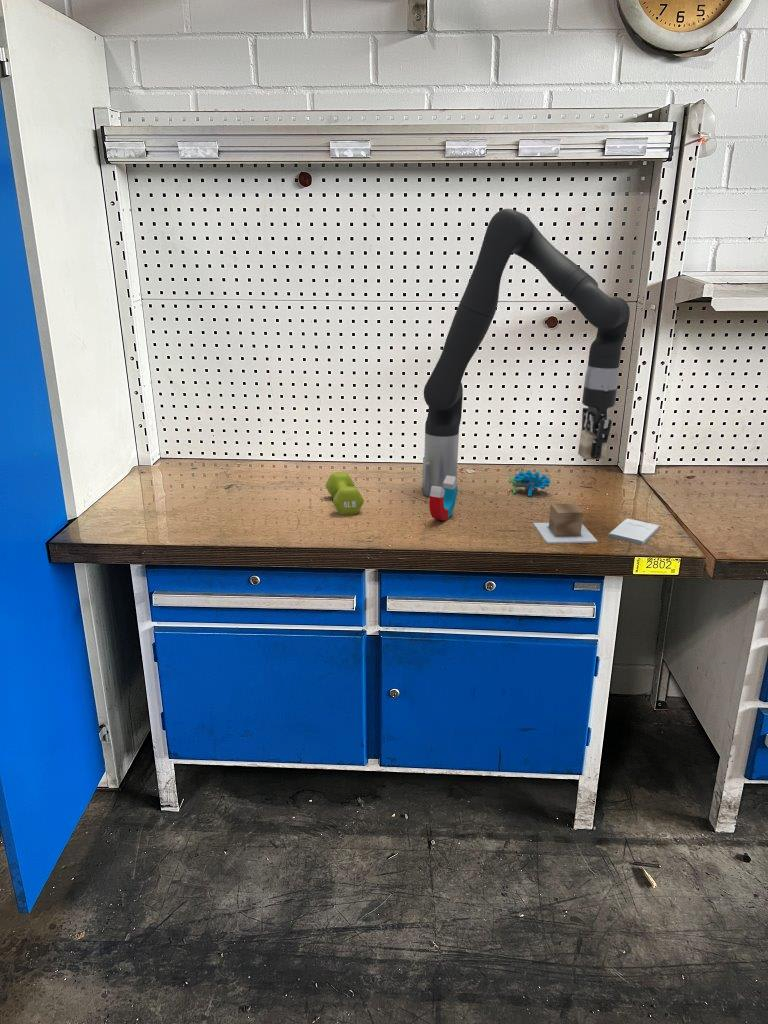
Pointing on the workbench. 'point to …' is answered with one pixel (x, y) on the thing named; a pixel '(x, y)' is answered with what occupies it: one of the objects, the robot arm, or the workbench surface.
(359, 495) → the dumbbell
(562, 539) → the white square plate
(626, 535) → the external hard drive
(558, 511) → the walnut block
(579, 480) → the workbench surface
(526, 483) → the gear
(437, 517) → the magnet
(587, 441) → the maple block
